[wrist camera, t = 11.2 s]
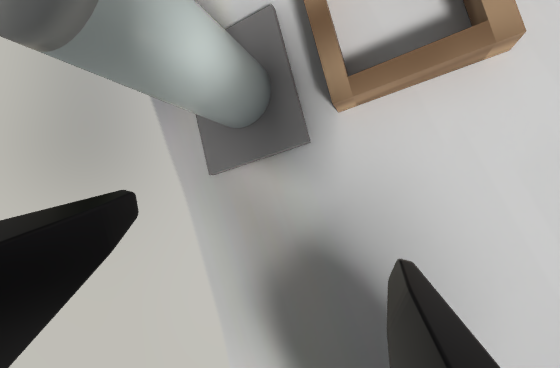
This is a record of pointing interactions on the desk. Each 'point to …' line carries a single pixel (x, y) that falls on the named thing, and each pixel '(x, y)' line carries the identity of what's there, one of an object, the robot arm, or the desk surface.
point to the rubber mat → (279, 113)
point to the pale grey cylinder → (148, 51)
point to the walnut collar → (414, 52)
